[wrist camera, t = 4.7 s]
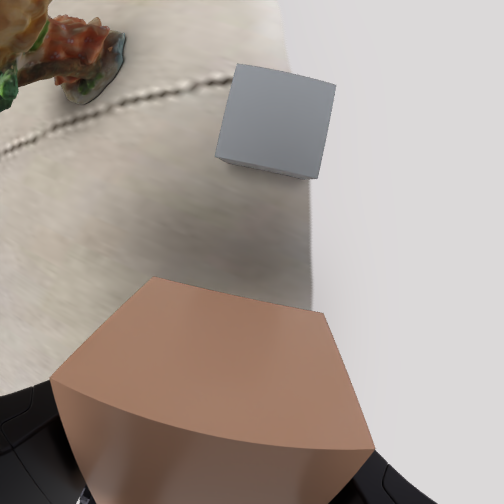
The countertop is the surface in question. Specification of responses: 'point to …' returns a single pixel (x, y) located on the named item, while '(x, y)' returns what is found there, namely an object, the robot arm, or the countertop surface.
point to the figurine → (55, 51)
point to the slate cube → (276, 122)
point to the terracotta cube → (211, 403)
